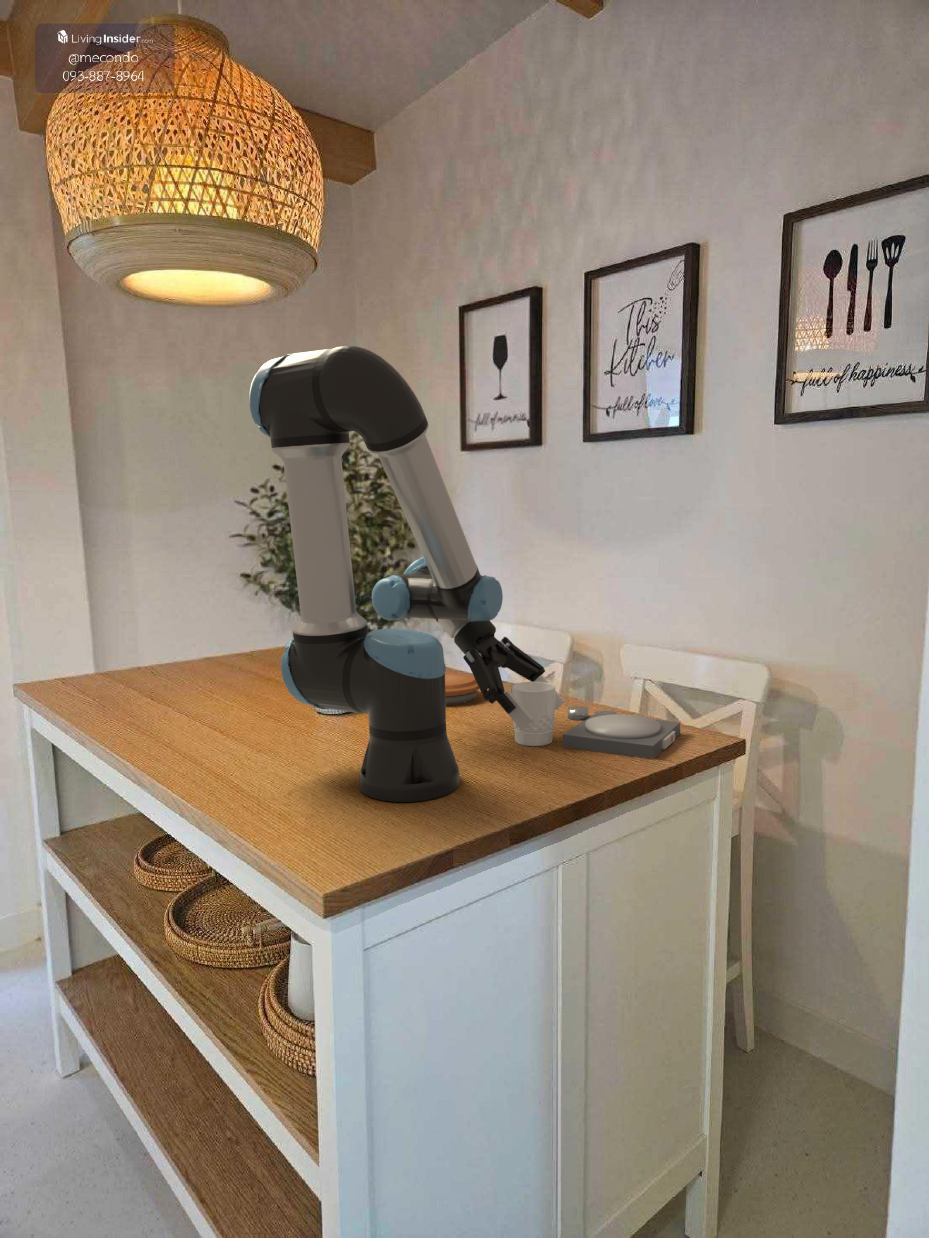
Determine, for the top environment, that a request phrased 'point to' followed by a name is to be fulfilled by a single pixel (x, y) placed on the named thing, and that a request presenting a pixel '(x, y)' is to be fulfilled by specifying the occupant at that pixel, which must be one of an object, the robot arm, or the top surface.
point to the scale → (622, 735)
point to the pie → (459, 688)
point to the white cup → (535, 712)
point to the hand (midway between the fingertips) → (544, 715)
